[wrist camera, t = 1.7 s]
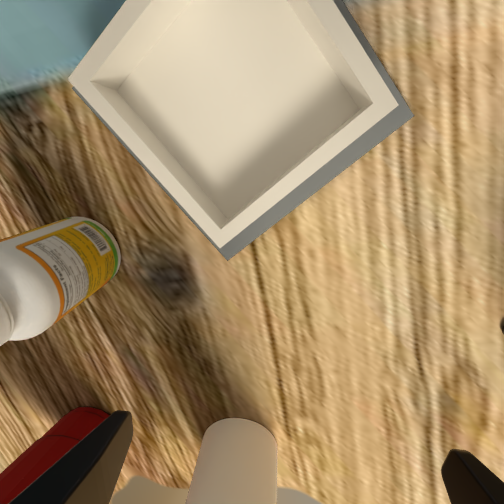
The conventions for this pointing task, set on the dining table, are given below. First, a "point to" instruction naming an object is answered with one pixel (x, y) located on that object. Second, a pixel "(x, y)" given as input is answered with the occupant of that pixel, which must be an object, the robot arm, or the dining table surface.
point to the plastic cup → (48, 450)
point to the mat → (320, 176)
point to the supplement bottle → (52, 273)
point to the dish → (232, 98)
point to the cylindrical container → (235, 465)
